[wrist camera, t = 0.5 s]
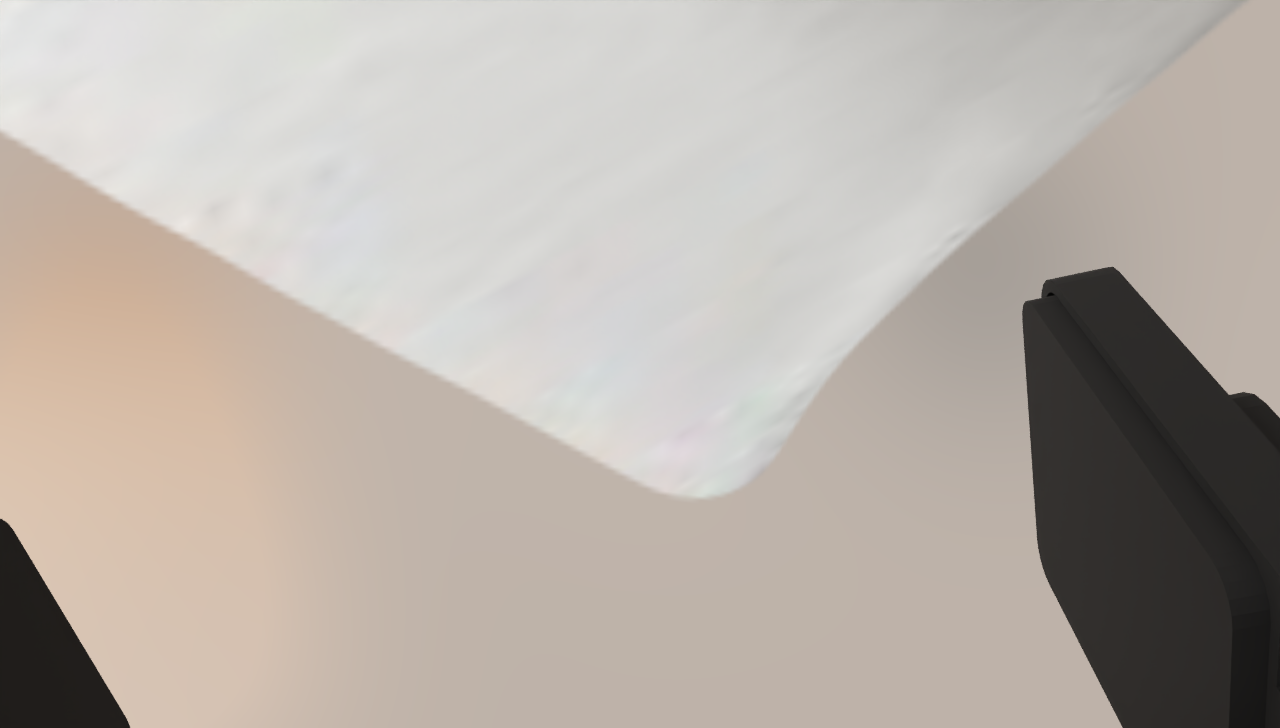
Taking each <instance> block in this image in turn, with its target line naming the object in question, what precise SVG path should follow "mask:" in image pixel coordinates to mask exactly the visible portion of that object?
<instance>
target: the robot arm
mask: <svg viewBox="0 0 1280 728" xmlns="http://www.w3.org/2000/svg"><path fill="white" fill-rule="evenodd" d="M1022 312H1023V313H1022V315H1023V334H1024V347H1025V348H1024V349H1025V364H1026V379H1027V394H1028V409H1029V424H1030V438H1031V454H1032V469H1033V484H1034V499H1035V513H1036V527H1037V528H1036V529H1037V541H1038V549H1039V553H1040V559H1041V562H1042V566H1043V569H1044V572H1045V575H1046V578H1047V580H1048V582H1049V584H1050V586H1051V588H1052V590H1053V592H1054V594H1055V596H1056V598H1057V600H1058V602H1059V604H1060V606H1061V608H1062V610H1063V612H1064V614H1065V615H1066V618H1067V620H1068V622H1069V623H1070V625H1071V627H1072V629H1073V631H1074V633H1075V635H1076V637H1077V639H1078V641H1079V643H1080V645H1081V647H1082V649H1083V651H1084V653H1085V655H1086V657H1087V659H1088V661H1089V663H1090V665H1091V667H1092V668H1093V670H1094V672H1095V674H1096V676H1097V678H1098V680H1099V682H1100V684H1101V686H1102V688H1103V690H1104V692H1105V694H1106V696H1107V698H1108V700H1109V701H1110V704H1111V706H1112V708H1113V710H1114V711H1115V713H1116V715H1117V717H1118V719H1119V721H1120V723H1121V725H1122V727H1123V728H1280V418H1279V417H1278V416H1277V415H1276V414H1275V413H1274V412H1273V410H1272V409H1270V407H1269V406H1268V405H1267V404H1266V403H1265V402H1263V401H1262V400H1261V399H1259V398H1258V397H1257V396H1256V395H1255V394H1250V393H1245V392H1242V393H1237V394H1233V395H1228V394H1227V393H1226V391H1225V390H1224V389H1223V388H1222V387H1221V386H1220V385H1219V384H1218V382H1217V381H1216V380H1215V379H1214V378H1213V377H1212V376H1211V374H1210V373H1209V372H1208V371H1207V370H1206V369H1205V368H1204V367H1203V365H1202V364H1201V363H1200V362H1199V361H1198V360H1197V359H1196V358H1195V356H1194V355H1193V354H1192V353H1191V352H1190V351H1189V350H1188V349H1187V347H1186V346H1184V344H1183V343H1182V342H1181V341H1180V340H1179V338H1178V337H1177V336H1176V335H1175V334H1174V333H1173V332H1172V331H1171V330H1170V328H1169V327H1168V326H1167V325H1166V324H1165V323H1164V322H1163V320H1162V319H1161V318H1160V317H1159V316H1158V315H1157V314H1156V313H1155V312H1154V310H1153V309H1152V308H1151V307H1150V306H1149V305H1148V304H1147V302H1146V301H1145V300H1144V299H1143V298H1142V297H1141V296H1140V295H1139V294H1138V292H1137V291H1136V290H1135V289H1134V288H1133V287H1132V286H1131V284H1129V282H1128V281H1127V280H1126V279H1125V278H1124V277H1123V275H1122V274H1121V273H1120V272H1119V271H1117V270H1116V269H1115V268H1114V267H1108V268H1102V269H1098V270H1093V271H1088V272H1083V273H1078V274H1074V275H1069V276H1064V277H1059V278H1055V279H1050V280H1046V281H1045V283H1044V284H1043V289H1042V298H1040V299H1035V300H1030V301H1026V302H1025V303H1024V305H1023V311H1022ZM0 728H130V726H129V723H128V721H127V719H126V717H125V715H124V714H123V712H122V710H121V709H120V707H119V705H118V704H117V702H116V700H115V699H114V697H113V695H112V694H111V692H110V690H109V689H108V687H107V685H106V684H105V682H104V680H103V679H102V677H101V676H100V674H99V672H98V671H97V669H96V667H95V665H94V664H93V662H92V660H91V659H90V657H89V655H88V654H87V652H86V650H85V649H84V647H83V645H82V644H81V642H80V640H79V639H78V637H77V635H76V634H75V632H74V630H73V629H72V627H71V625H70V624H69V622H68V620H67V619H66V617H65V615H64V614H63V612H62V610H61V609H60V607H59V605H58V604H57V602H56V600H55V599H54V597H53V595H52V594H51V592H50V590H49V589H48V587H47V585H46V584H45V582H44V581H43V579H42V577H41V576H40V574H39V572H38V571H37V569H36V567H35V565H34V564H33V562H32V560H31V559H30V557H29V555H28V554H27V552H26V550H25V549H24V547H23V545H22V544H21V542H20V541H19V539H18V537H17V536H16V534H15V532H14V531H13V529H12V528H11V527H10V525H9V524H8V523H7V522H5V521H3V520H2V519H0Z"/></svg>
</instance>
